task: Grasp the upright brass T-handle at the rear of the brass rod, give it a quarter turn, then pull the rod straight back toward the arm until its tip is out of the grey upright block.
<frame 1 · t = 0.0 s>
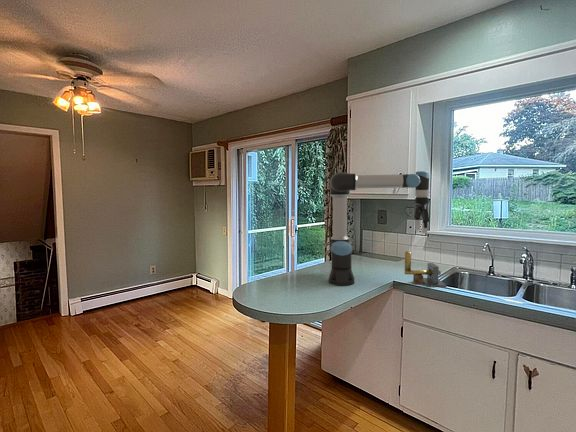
hand: (421, 231, 193), 28 cm above the countertop, fingers open, 13 cm apart
grey upright block: (432, 282, 182), on the countertop
rest block: (418, 282, 183), on the countertop
hook rod: (422, 263, 182), point 11 cm above the countertop, slide at 0.0 cm
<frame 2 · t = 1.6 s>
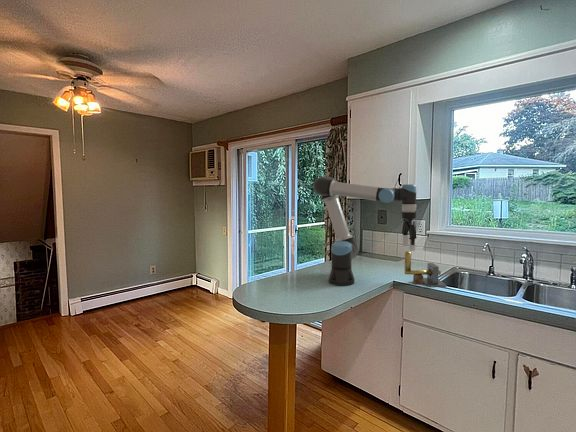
hand: (408, 248, 182), 20 cm above the countertop, fingers open, 13 cm apart
nothing on the countertop moved.
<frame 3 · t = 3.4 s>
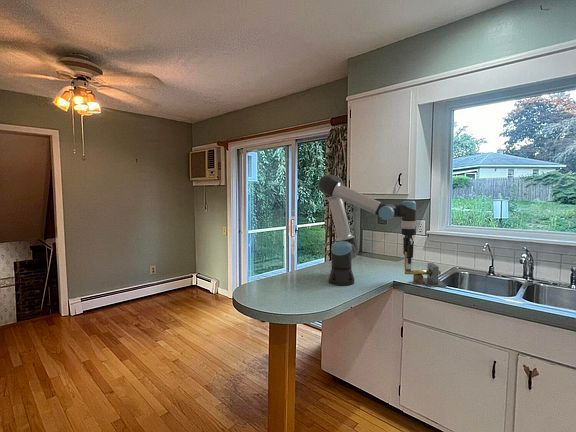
hand: (407, 267, 183), 9 cm above the countertop, fingers closed on hook rod, 3 cm apart
hook rod: (422, 263, 182), point 11 cm above the countertop, slide at 0.0 cm, touching gripper
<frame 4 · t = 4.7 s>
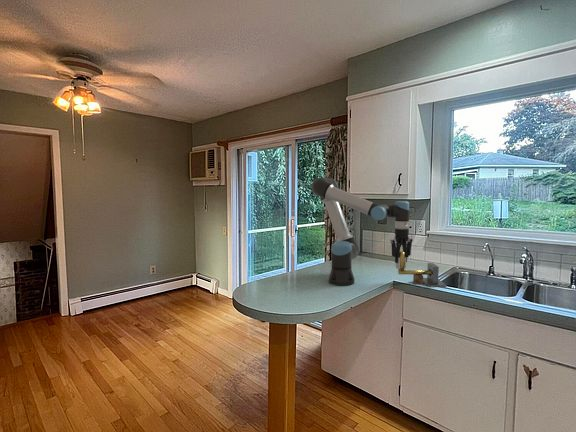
hand: (400, 268, 184), 8 cm above the countertop, fingers closed on hook rod, 3 cm apart
hook rod: (415, 263, 182), point 11 cm above the countertop, slide at 3.6 cm, touching gripper
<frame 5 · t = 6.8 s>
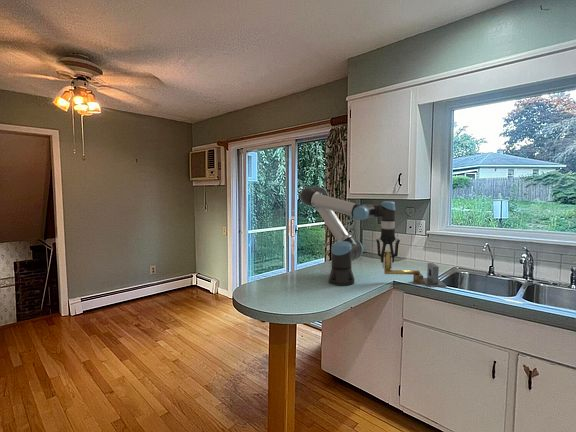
hand: (387, 267, 184), 8 cm above the countertop, fingers closed on hook rod, 3 cm apart
hook rod: (401, 263, 183), point 11 cm above the countertop, slide at 11.5 cm, touching gripper
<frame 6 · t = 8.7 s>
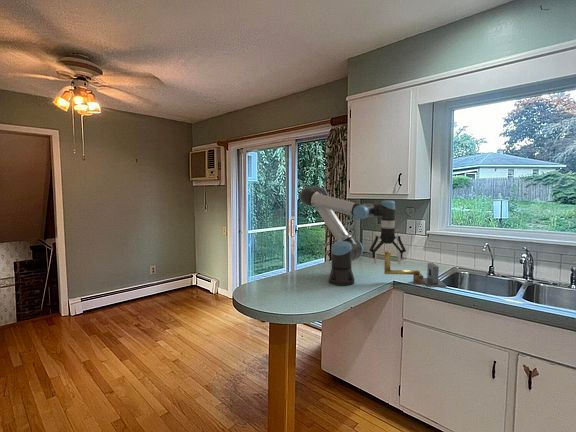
hand: (387, 263, 184), 11 cm above the countertop, fingers open, 13 cm apart
hook rod: (401, 263, 183), point 11 cm above the countertop, slide at 11.6 cm
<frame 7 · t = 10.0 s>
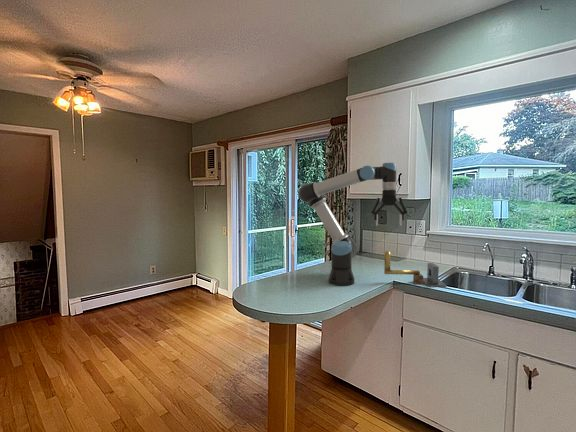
hand: (388, 225, 186), 33 cm above the countertop, fingers open, 13 cm apart
nothing on the countertop moved.
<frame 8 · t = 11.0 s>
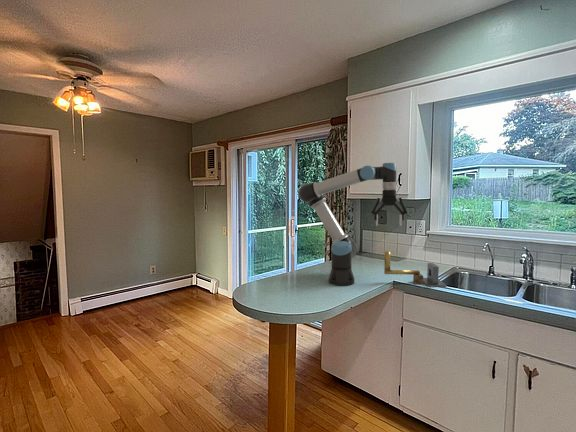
hand: (388, 225, 186), 33 cm above the countertop, fingers open, 13 cm apart
nothing on the countertop moved.
at the end: hook rod slide at 11.6 cm; the gripper is holding nothing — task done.
